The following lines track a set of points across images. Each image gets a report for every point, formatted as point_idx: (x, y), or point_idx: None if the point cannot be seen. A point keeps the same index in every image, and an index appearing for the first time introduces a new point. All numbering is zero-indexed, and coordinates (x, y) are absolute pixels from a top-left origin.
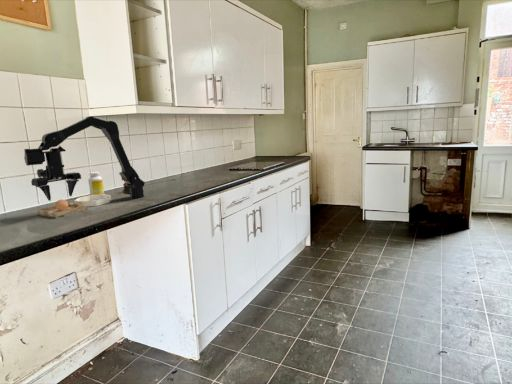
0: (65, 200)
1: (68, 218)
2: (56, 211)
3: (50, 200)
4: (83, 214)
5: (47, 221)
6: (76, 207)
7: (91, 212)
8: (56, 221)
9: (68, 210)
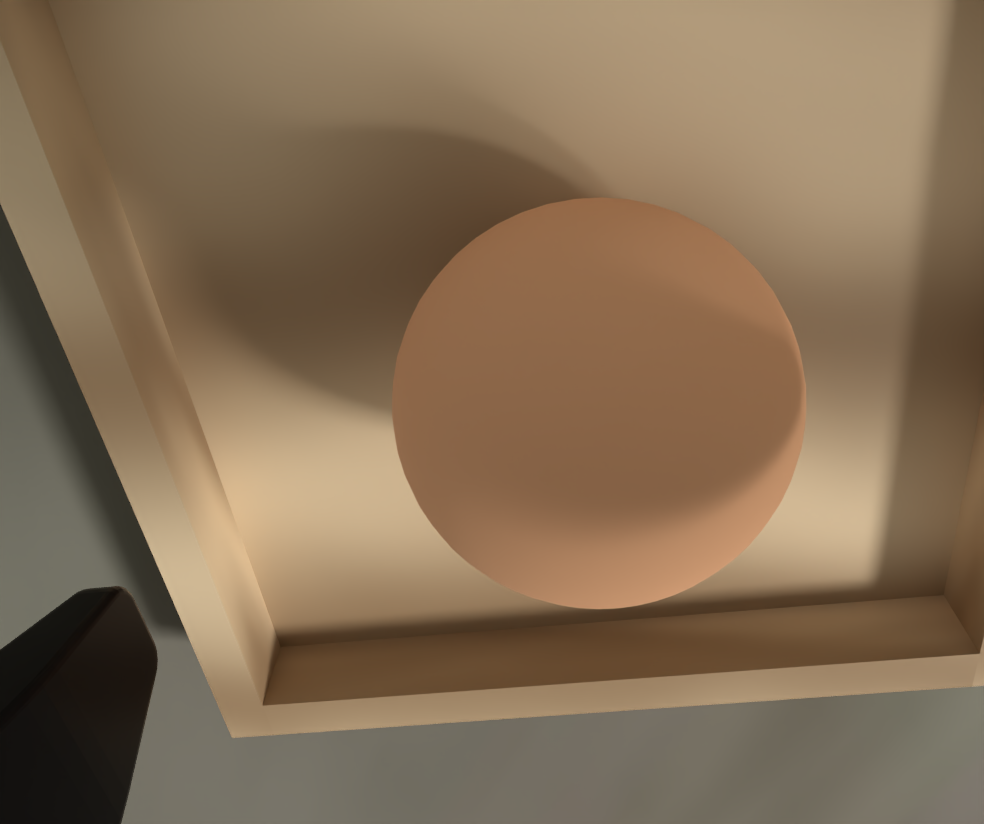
0: (738, 548)
1: (419, 802)
2: (427, 246)
3: (153, 654)
4: (698, 784)
5: None
6: (773, 672)
7: (855, 780)
8: (222, 807)
9: (543, 702)
